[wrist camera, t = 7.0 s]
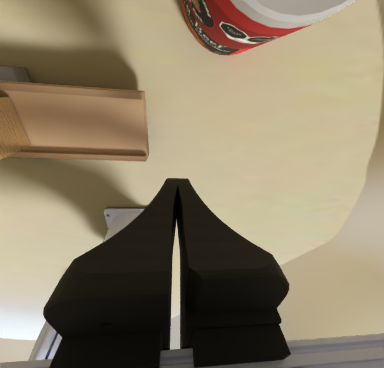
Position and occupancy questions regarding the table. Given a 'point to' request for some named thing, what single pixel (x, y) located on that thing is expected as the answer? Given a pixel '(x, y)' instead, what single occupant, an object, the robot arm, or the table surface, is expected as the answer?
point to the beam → (77, 119)
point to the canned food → (252, 20)
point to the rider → (11, 130)
